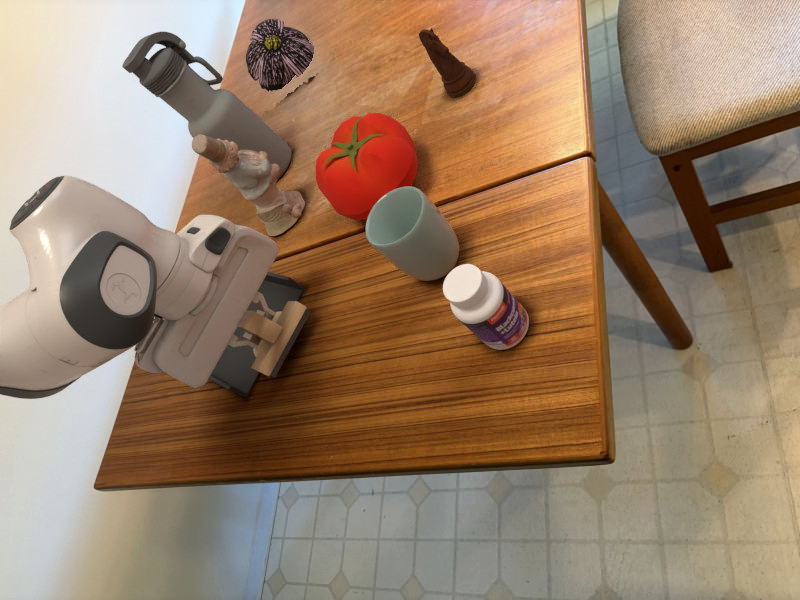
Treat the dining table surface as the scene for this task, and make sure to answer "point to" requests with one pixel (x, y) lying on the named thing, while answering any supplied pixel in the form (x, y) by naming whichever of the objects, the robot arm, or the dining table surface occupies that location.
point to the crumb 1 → (258, 348)
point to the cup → (413, 234)
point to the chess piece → (447, 65)
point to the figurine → (253, 181)
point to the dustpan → (239, 360)
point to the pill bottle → (485, 306)
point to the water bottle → (202, 98)
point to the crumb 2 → (276, 316)
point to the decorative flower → (277, 54)
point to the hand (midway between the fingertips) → (264, 329)
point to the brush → (275, 335)
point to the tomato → (365, 163)
